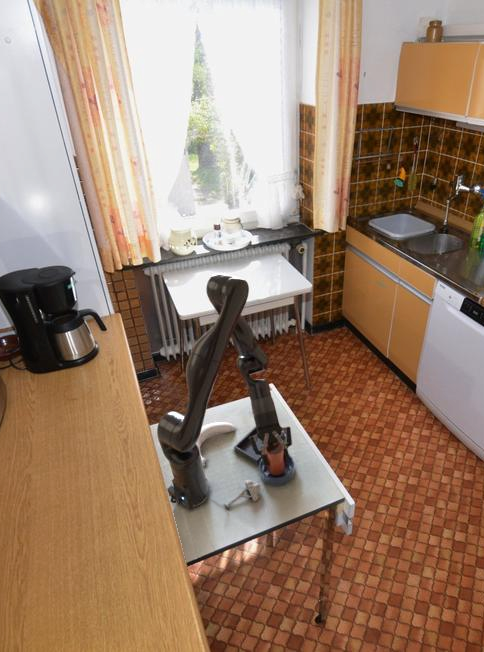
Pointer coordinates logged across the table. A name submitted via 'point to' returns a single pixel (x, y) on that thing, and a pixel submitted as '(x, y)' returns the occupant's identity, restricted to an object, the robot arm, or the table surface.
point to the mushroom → (253, 489)
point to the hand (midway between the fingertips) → (277, 463)
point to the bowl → (278, 479)
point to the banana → (211, 430)
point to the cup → (275, 458)
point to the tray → (247, 449)
